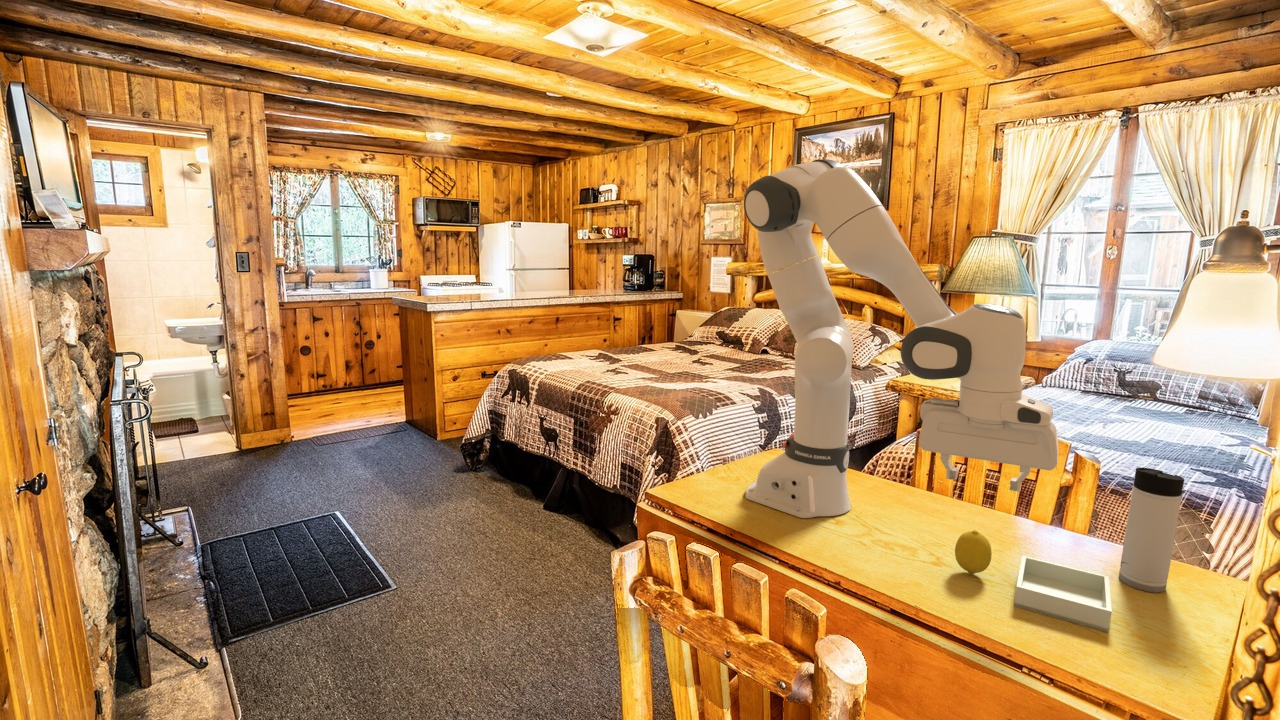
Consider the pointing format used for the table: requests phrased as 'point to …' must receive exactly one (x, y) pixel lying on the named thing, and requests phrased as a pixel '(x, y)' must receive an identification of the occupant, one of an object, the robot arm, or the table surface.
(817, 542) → the table surface
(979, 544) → the lemon
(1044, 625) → the table surface
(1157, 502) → the travel mug
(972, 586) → the table surface
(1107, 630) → the bin
